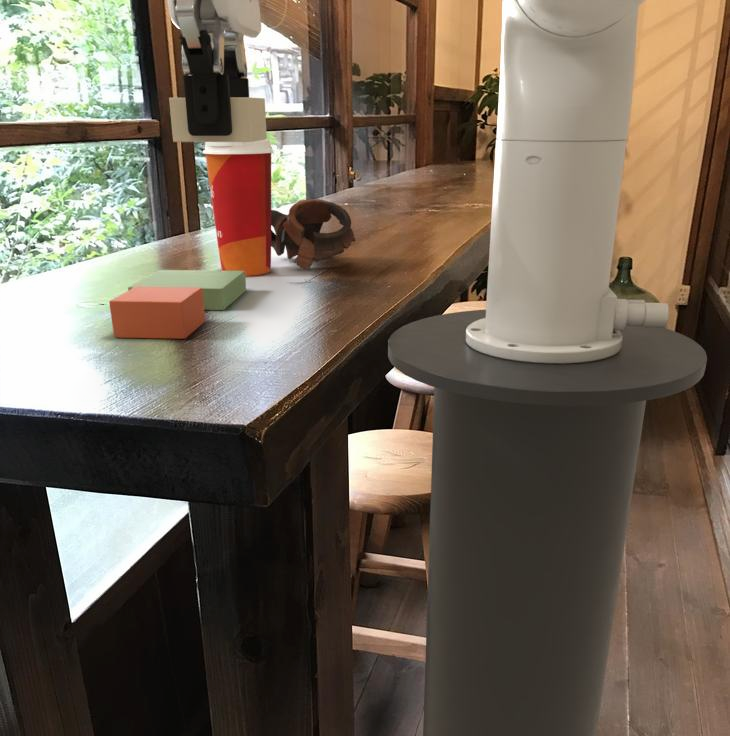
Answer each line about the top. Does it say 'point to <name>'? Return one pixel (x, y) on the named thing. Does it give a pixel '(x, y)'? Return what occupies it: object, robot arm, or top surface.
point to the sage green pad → (201, 284)
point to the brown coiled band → (310, 231)
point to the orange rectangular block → (157, 312)
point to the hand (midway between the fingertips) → (221, 131)
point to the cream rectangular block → (243, 114)
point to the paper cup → (241, 203)
